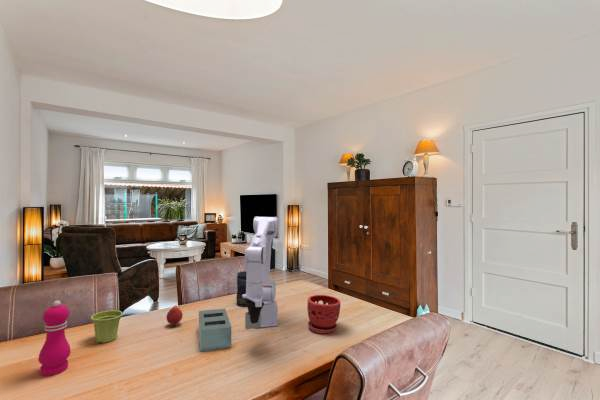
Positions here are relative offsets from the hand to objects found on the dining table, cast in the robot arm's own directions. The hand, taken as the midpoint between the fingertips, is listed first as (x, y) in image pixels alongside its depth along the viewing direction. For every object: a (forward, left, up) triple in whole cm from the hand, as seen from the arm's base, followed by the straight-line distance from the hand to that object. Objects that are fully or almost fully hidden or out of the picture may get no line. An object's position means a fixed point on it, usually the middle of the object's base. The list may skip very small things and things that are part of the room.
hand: (253, 321), depth 103 cm
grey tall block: (0, 0, -2) cm, 2 cm away
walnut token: (+12, -16, -9) cm, 22 cm away
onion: (+26, -28, -10) cm, 39 cm away
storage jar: (-6, -46, -10) cm, 47 cm away
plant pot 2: (-30, -8, -10) cm, 32 cm away
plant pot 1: (+48, -22, -10) cm, 54 cm away
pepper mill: (+57, -4, -10) cm, 58 cm away
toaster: (+12, -12, -9) cm, 20 cm away
